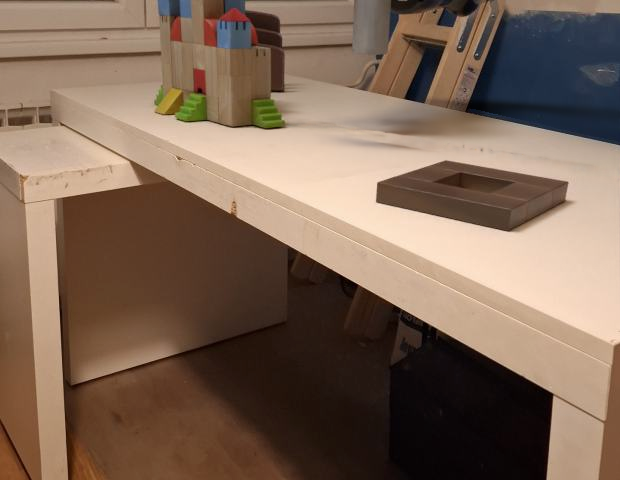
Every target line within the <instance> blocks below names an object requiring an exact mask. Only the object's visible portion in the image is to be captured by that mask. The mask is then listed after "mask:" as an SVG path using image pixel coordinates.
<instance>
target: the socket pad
mask: <svg viewBox="0 0 620 480" xmlns="http://www.w3.org/2000/svg"><path fill="white" fill-rule="evenodd" d="M568 187H569V181H566V180H562V179H561V180H560V179H555V178H550V177H544V176H538V175H533V174H527V173H520V172H516V171H509V170H504V169H498V168H492V167H487V166H481V165H475V164H470V163H464V162H458V161H453V160H447V159H445V160H442V161H438V162H436V163H433V164H429V165H426V166H424V167H420V168H418V169H414V170H411V171H408V172H405V173H402V174H399V175H396V176H395V175H394V176H393V177H389V178H387V179H383V180H380V181H377V182H376V193H375V196H376V197H375V202H376V203H381V204H385V205H389V206H393V207H397V208H398V207H399V208H402V209H406V210H407V209H408V210H411V211H417V212H420V213H425V214H429V215H434V216H439V217H444V218H448V219H453V220H457V221H461V222H466V223H470V224H475V225H480V226H484V227H489V228H493V229H496V230H502V231H507V232H509V231H510V230H513V229H514V228H516V227H518V226H520V225H522V224H523V223H526V222H527V221H529V220H531V219H533V218H535V217H537V216H539V215H541V214H543V213H545V212H546V211H548V210H550V209H552V208H554V207H556V206H558V205H560V204H561V203H563V202H565V201H566V198H567V193H568Z"/></svg>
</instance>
